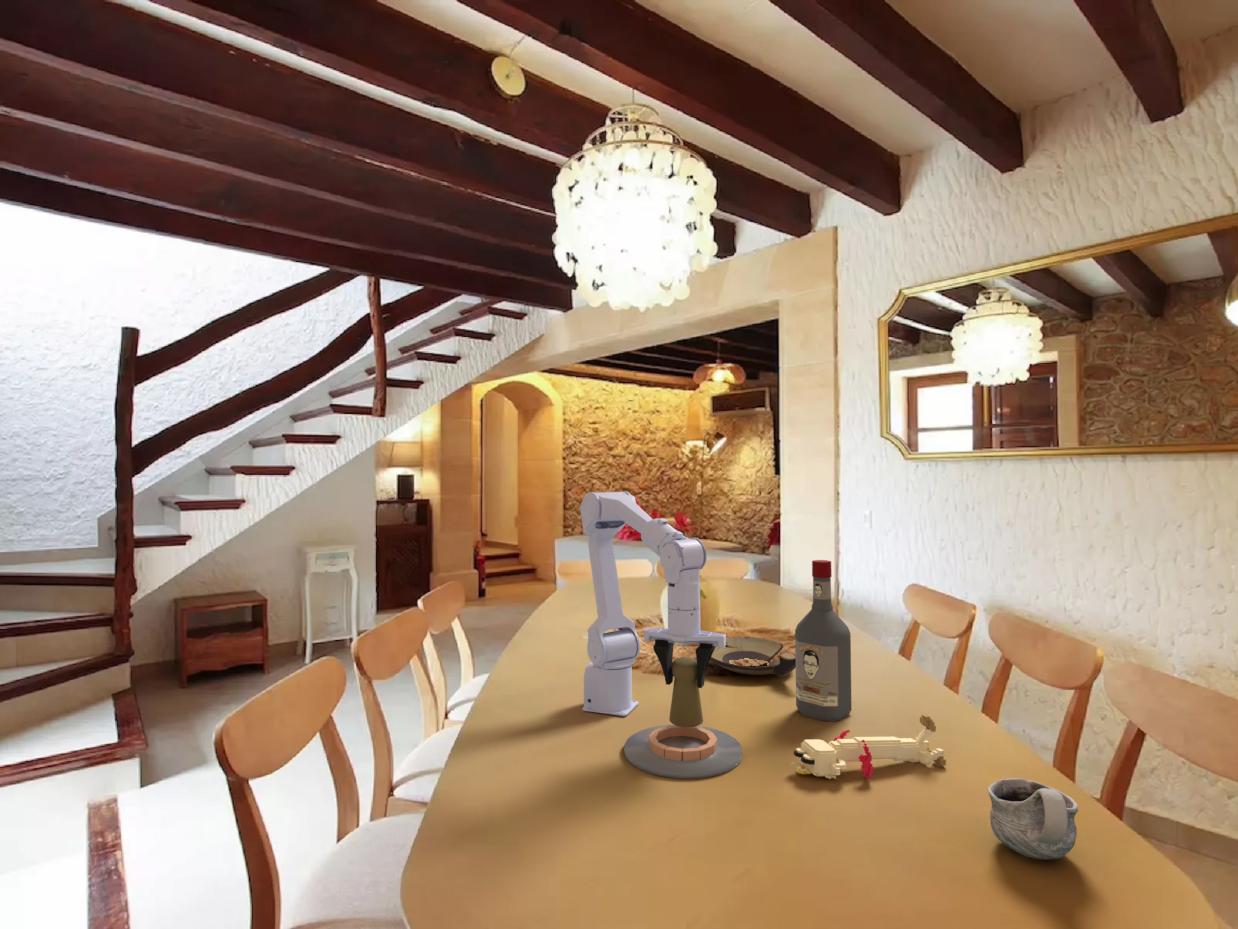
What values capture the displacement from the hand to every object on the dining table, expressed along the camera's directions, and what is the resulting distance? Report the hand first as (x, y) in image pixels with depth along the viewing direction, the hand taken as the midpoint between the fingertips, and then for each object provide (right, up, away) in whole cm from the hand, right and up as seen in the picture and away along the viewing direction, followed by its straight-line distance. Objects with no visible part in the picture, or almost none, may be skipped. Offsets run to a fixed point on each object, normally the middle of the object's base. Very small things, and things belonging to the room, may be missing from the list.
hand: (684, 684), depth 119 cm
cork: (0, -7, +1) cm, 7 cm away
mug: (+40, -10, -36) cm, 55 cm away
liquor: (+29, -11, +15) cm, 34 cm away
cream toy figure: (+28, -11, -10) cm, 32 cm away
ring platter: (-1, -10, -3) cm, 11 cm away
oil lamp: (+20, -11, +42) cm, 48 cm away
